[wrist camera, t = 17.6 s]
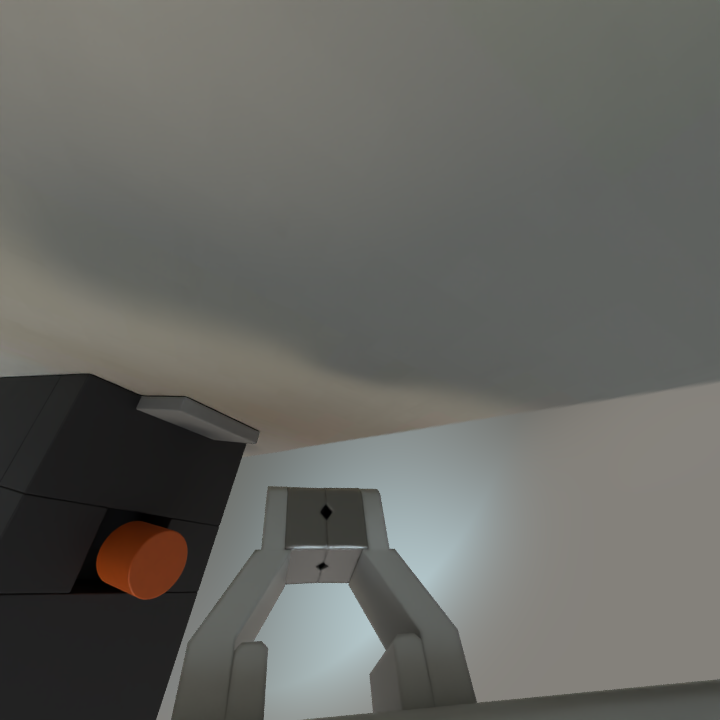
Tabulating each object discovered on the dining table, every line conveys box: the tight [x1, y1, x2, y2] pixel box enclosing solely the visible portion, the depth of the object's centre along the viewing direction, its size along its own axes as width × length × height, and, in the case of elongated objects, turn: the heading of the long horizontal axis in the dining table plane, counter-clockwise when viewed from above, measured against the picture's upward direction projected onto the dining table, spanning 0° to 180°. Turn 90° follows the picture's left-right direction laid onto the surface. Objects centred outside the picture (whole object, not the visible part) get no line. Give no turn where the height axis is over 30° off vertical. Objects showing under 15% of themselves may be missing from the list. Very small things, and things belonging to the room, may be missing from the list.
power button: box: [96, 521, 188, 600], centre depth 20 cm, size 3×3×3 cm
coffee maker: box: [0, 374, 260, 720], centre depth 21 cm, size 16×12×24 cm
